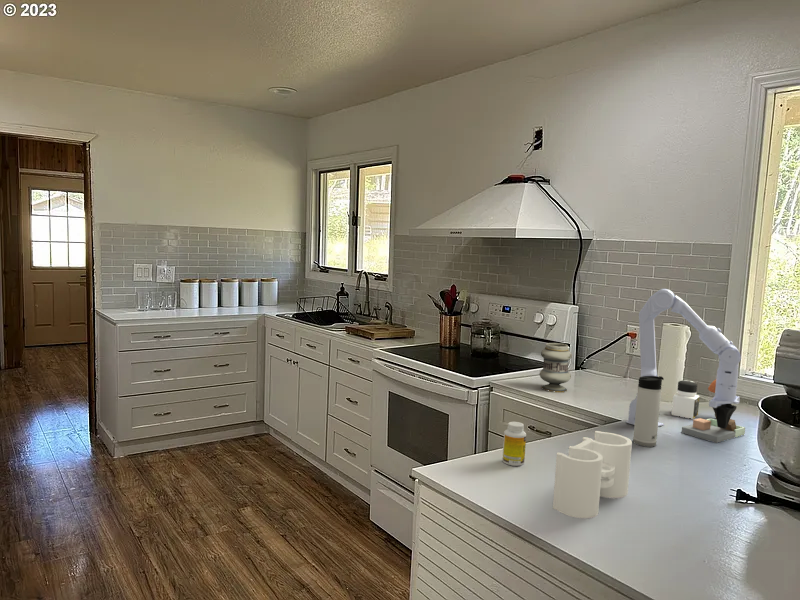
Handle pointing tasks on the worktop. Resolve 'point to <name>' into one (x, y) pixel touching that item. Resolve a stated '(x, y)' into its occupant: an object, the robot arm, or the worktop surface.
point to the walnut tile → (731, 425)
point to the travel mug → (647, 410)
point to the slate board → (709, 433)
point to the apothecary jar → (555, 366)
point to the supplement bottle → (514, 444)
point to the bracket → (592, 474)
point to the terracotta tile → (701, 424)
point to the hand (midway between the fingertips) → (721, 427)
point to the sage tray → (738, 431)
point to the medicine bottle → (686, 400)
